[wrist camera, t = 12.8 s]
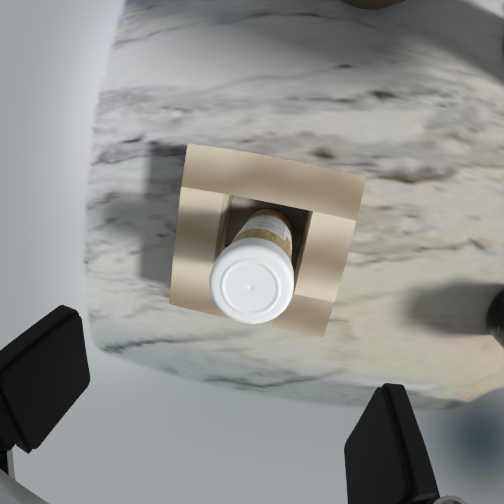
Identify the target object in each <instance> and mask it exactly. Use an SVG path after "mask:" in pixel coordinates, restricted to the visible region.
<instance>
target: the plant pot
mask: <svg viewBox="0 0 504 504" xmlns="http://www.w3.org/2000/svg"><path fill="white" fill-rule="evenodd" d="M342 1H344V2H346V3H348V4H350V5H352V6H355V7H358V8H363V9H379V8H383V7H387V6H390V5H393V4H396V3H400V2H403V1H405V0H342Z"/></svg>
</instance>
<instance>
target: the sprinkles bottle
mask: <svg viewBox="0 0 504 504" xmlns="http://www.w3.org/2000/svg"><path fill="white" fill-rule="evenodd" d="M291 254H292V228H291V225H290V223H289V221H288V220H287V218H286V217H285V216H284V215H282V214H281V213H280V212H278V211H275V210H271V209H263V210H260V211H257V212H255V213H254V214H252V215H251V216H250V217H249V218H248V220H247V221H246V223H245V225H244V226H243V227H242V229H241V230H240V231H239V233H238V234H237V235H236V237H235V238H234V240H233V241H232V243H231V244H230V245H229V246H228V247H227V248H226V249H224V251H223V252H222V253H221V254H220V256H219V257H218V259H217V260H216V262H215V263H214V265H213V267H212V270H211V273H210V279H209V286H210V291H211V295H212V298H213V300H214V302H215V303H216V305H217V306H218V308H219V309H220V310H221V311H222V312H223V313H224V314H226V315H227V316H229V317H230V318H232V319H234V320H236V321H239V322H243V323H248V324H259V323H264V322H267V321H270V320H272V319H274V318H276V317H277V316H279V315H280V314H281V313H282V312H283V311H284V310H285V309H286V308H287V306H288V305H289V303H290V301H291V298H292V295H293V290H294V271H293V267H292V263H291Z"/></svg>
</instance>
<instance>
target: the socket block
mask: <svg viewBox="0 0 504 504" xmlns="http://www.w3.org/2000/svg"><path fill="white" fill-rule="evenodd" d="M365 180H366V177H363V176H360V175H356V174H352V173H347V172H343V171H339V170H335V169H331V168H326V167H322V166H317V165H313V164H308V163H303V162H298V161H293V160H288V159H283V158H278V157H273V156H267V155H262V154H256V153H250V152H244V151H238V150H231V149H225V148H218V147H211V146H203V145H196V144H188V145H187V151H186V158H185V164H184V171H183V178H182V185H181V192H180V200H179V208H178V216H177V225H176V234H175V243H174V253H173V264H172V276H171V288H170V302H169V304H172V305H176V306H180V307H184V308H188V309H192V310H196V311H200V312H204V313H208V314H213V315H217V316H221V317H226V318H230V317H229V316H227V315H226V314H224V313H223V312H222V311H221V310H220V309H219V308H218V306H217V305H216V303H215V302H214V300H213V298H212V295H211V291H210V286H209V279H210V273H211V270H212V267H213V265H214V263H215V262H216V260H217V259H218V257H219V256H220V254H221V253H222V252H223V251H224V246H225V239H226V233H227V227H228V221H229V214H230V208H231V202H232V196H238V197H244V198H249V199H255V200H260V201H265V202H270V203H275V204H280V205H285V206H290V207H295V208H300V209H305V210H308V213H307V218H306V222H305V227H304V231H303V236H302V241H301V245H300V249H299V254H298V258H297V263H296V267H295V271H294V290H293V295H292V298H291V301H290V303H289V305H288V306H287V308H286V309H285V310H284V311H283V312H282V313H281V314H280V315H279V316H277V317H276V318H274V319H272V320H270V321H267V322H264V323H259V324H258V325H263V326H268V327H273V328H278V329H283V330H289V331H294V332H299V333H305V334H310V335H316V336H322V337H323V336H324V333H325V330H326V327H327V324H328V321H329V317H330V314H331V311H332V308H333V304H334V301H335V298H336V294H337V291H338V288H339V284H340V281H341V277H342V274H343V270H344V267H345V263H346V259H347V255H348V252H349V248H350V244H351V240H352V236H353V232H354V228H355V224H356V220H357V216H358V212H359V207H360V203H361V198H362V194H363V189H364V185H365ZM230 319H232V318H230Z"/></svg>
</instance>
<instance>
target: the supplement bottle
mask: <svg viewBox="0 0 504 504" xmlns="http://www.w3.org/2000/svg"><path fill="white" fill-rule="evenodd" d="M487 327H488V330H489V332H490V333H491V335H492V336H493V337H494V338H495V339H496V340H497V342H498V343H499V344H500V345H501V346H502V347H503V348H504V290H503V291H502V292H501V293H500V294H499V295H498V296H497V297H496V298H495V300H494V301H493V303H492V304H491V306H490V309H489V311H488V315H487Z"/></svg>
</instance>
